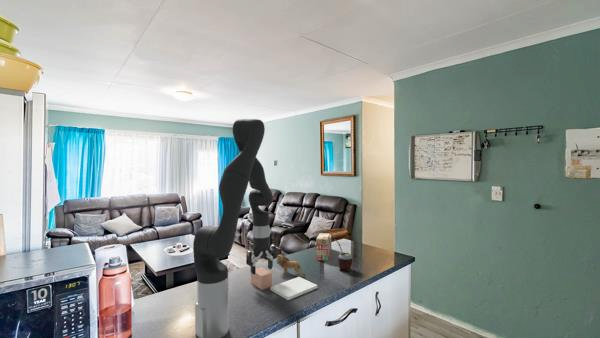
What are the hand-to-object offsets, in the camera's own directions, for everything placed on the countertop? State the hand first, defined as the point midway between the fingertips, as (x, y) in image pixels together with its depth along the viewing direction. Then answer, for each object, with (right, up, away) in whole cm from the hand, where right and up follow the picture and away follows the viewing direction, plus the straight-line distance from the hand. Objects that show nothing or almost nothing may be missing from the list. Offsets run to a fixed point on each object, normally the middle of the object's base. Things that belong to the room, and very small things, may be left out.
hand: (262, 271), depth 118 cm
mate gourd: (+39, -6, +15) cm, 42 cm away
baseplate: (+14, -6, -5) cm, 16 cm away
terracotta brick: (0, -6, 0) cm, 6 cm away
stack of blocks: (+31, -6, +40) cm, 51 cm away
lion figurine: (+12, -6, +11) cm, 17 cm away
